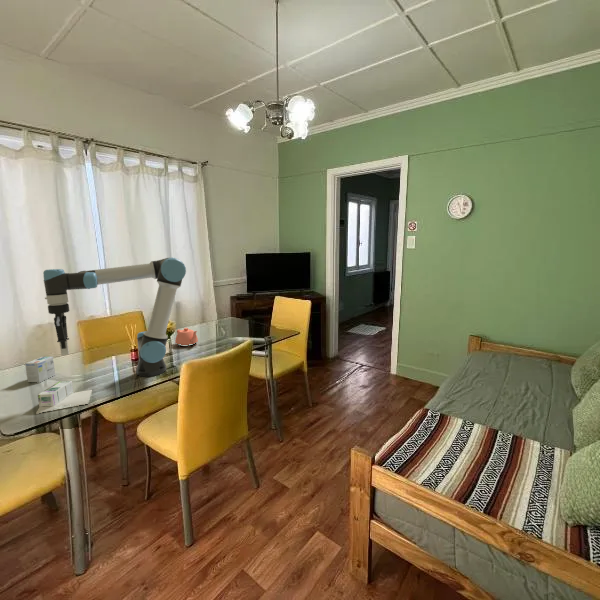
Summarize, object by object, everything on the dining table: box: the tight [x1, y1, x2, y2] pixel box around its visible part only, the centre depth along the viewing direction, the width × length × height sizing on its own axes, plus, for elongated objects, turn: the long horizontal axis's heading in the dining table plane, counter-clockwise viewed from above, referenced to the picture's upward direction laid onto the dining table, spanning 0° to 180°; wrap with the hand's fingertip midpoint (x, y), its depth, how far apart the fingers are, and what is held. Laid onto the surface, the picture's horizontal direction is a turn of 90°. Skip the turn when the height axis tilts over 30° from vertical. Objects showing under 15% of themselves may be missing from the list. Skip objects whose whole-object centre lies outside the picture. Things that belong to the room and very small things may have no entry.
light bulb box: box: [24, 356, 56, 384], centre depth 169 cm, size 11×7×11 cm, turn 178°
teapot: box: [174, 327, 199, 345], centre depth 230 cm, size 22×15×12 cm
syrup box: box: [37, 380, 74, 408], centre depth 144 cm, size 6×6×14 cm
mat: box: [35, 389, 93, 415], centre depth 144 cm, size 18×16×1 cm
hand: (65, 354), depth 147 cm, fingers closed
